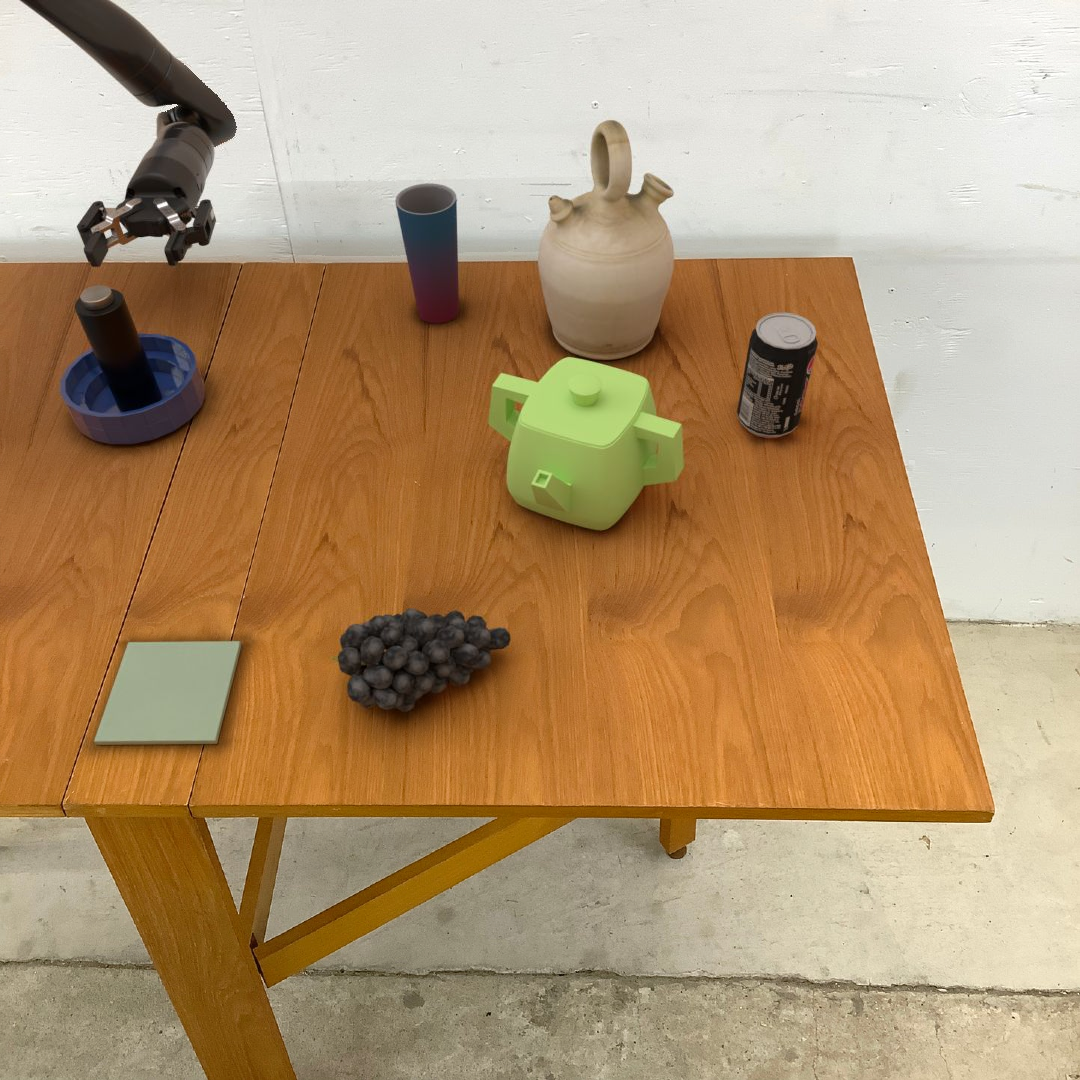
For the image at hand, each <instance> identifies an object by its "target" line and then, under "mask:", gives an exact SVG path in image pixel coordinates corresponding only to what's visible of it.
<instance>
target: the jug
mask: <svg viewBox="0 0 1080 1080" xmlns="http://www.w3.org/2000/svg"><path fill="white" fill-rule="evenodd" d="M632 156H633V154H632V148H631V142H630V139H629V135H628V133H627V130H626V128H625V127H624V126H623V124H622V123H621V122H619V121H617V120H615V119H607V120H604V121H602V122H600V123H599V124H597V126H596V127H595V129H594V131H593V133H592V136H591V142H590V172H591V177H592V181H593V188H592V189H591V191H588V192H585V193H582V194H580V195H578V196H576V197H574V198H572V199H569V198H563V197H560V196H559V195H556V194H554V195H551V196H550V197H549V198H548V201H547V202H548V203H547V204H548V207H549V208H548V209H549V217H550V218H549V220H548V222H547V223H546V225H545V228H544V230H543V233H542V235H541V238H540V242H539V246H538V253H537V268H538V275H539V279H540V285H541V289H542V295H543V299H544V303H545V308H546V311H547V316H548V319H549V322H550V325H551V327H552V329H551V330H552V334H553V336H554V338H555V340H556V341H557V343H558V344H559V345H560V346H561V347H562V348H563V349H564V350H566V351H567V352H569V353H571V354H573V355H576V356H578V357H582V358H586V359H589V360H595V361H612V360H619V359H622V358H627V357H629V356H633V355H635V354H637V353H638V352H640V351H642V350H643V349H644V348H645V347H647V346H648V344H649V343H650V342H651V341H652V339H653V337H654V335H655V331H656V329H657V327H658V324H659V321H660V317H661V315H662V311H663V310H662V309H663V306H664V302H665V300H666V298H667V295H668V292H669V289H670V286H671V282H672V277H673V273H674V268H675V249H674V241H673V239H672V234H671V231H670V228H669V227H668V224H667V222H666V220H665V219H664V217H663V216H662V214H661V212H660V211H659V207H660V205H662V204H663V203H664V202H666V201H667V199H670V198H672V197H674V195H675V191H674V190H673V188H672V187H671V186H670V185H669V184H667V183H666V182H665V181H664V180H663V179H661V178H660V177H658V176H656V175H654V174H652V173H649V172H646V173H644V175H643V181H642V184H641V187H640V190H639V192H637V193H629V190H630V188H631V182H632V175H633V174H632V173H633V157H632Z"/></svg>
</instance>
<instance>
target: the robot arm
mask: <svg viewBox="0 0 1080 1080" xmlns="http://www.w3.org/2000/svg"><path fill="white" fill-rule="evenodd" d="M19 1H20V2H21V3H22V4H24V5H25V6H27V7H28V8H29V9H31V10H32V11H33V12H34V13H36V14H37V15H38V16H40V17H41V18H43V20H45V21H47V22H48V23H49V24H50V25H51V26H53V27H54V28H56V30H58V31H59V32H61V33H62V34H63V35H64V36H65V37H67V38H68V39H69V40H71V41H72V42H73V43H74V44H75V45H76V46H77V47H79V48H80V49H81V50H82V51H84V53H85V54H87V55H88V56H89V57H90V58H91V59H93V60H94V61H95V63H97V64H98V65H99V66H100V67H101V68H102V69H104V71H106V72H107V73H108V74H109V75H110V76H111V77H112V78H113V79H114V80H115V81H116V82H118V84H120V85H121V87H123V88H124V89H125V90H126V91H127V92H129V94H131V95H132V96H133V97H134V98H135V99H136V100H137V101H139V102H140V103H141V104H143V105H144V106H146V107H150V108H159V107H165V106H166V105H172V104H177V105H178V106H176V107H174V108H172V109H170V110H167V112H166V111H165V112H161V113H159V112H158V113H157V116H156V121H155V122H156V138H155V140H154V142H153V143H152V145H151V147H150V149H148V150H147V151H146V153H144V156H143V157H142V159H141V160H140V162H139V164H138V166H137V168H136V169H135V171H134V173H133V175H132V176H131V178H130V181H129V182H128V184H127V187H126V189H125V190H126V191H125V195H124V200H123V201H122V202H120V203H118V204H117V206H115V207H106V206H105V203H104V202H103V201H101V200H96V201H93V202H92V203H91V205H90V207H89V208H88V209H87V211H86V212H85V214H84V215H83V216H82V218H81V219H80V220H79V221H78V223H77V225H76V229H77V232H78V235H79V237H80V239H81V241H82V243H83V244H82V245H83V246H84V247H83V252H84V253H83V254H84V255H85V258H86V260H87V263H90V266H91V267H92V268H100V267H101V265H102V264H103V262H104V260H105V258H106V257H107V254H108V253H109V249H111V248H112V247H115V246H116V245H118V244H119V245H122V246H125V245H128V243H131V242H132V241H135V240H137V239H139V238H148V237H151V238H163V237H164V236H166V237H168V239H167V241H166V244H165V246H164V248H163V249H164V256H165V258H166V261H167V265H168V266H169V267H176V266H178V264H179V262H181V261H183V260H184V259H185V256H186V254H187V251H188V250H189V249H191V248H193V245H194V244H198V245H199V246H201V247H205V246H208V245H209V244H210V242H211V240H212V235H213V233H214V229H215V226H216V223H217V218H216V214H215V211H214V208H213V203H212V202H211V201H212V200H211V199H207V198H206V199H202V200H200V199H201V198H202V195H203V194H204V190H205V186H206V181H207V178H208V176H209V174H210V172H211V170H212V168H213V165H214V161H215V154H216V153H215V148H217V147H219V146H221V145H223V144H225V143H228V142H229V141H231V140H233V139H234V138H235V137H234V136H235V133H236V130H237V129H236V128H237V126H236V122H235V119H234V116H233V114H232V113H231V111H230V110H229V109H228V108H227V105H225V103H224V102H222V101H221V99H220V98H219V97H218V95H217V94H215V93H214V92H213V91H212V90H211V89H210V88H208V86H206V85H205V83H203V82H202V80H200V79H199V78H198V77H197V76H196V75H195V74H194V73H193V72H192V71H191V70H190V69H189V68H188V67H187V66H186V65H184V63H185V62H184V63H182V62H183V61H182V62H181V60H180V59H178V58H177V57H175V56H174V55H173V54H172V53H171V52H170V50H168V49H167V47H166V46H164V44H162V42H161V41H160V40H159V39H158V38H157V37H156V36H155V35H154V34H153V33H152V32H151V31H149V29H147V27H145V25H143V24H142V23H141V22H140V21H139V20H138V19H136V17H134V16H133V15H132V14H130V13H129V12H128V11H127V10H125V9H124V8H123V7H121V6H119V5H118V4H117V3H115V2H113V1H112V0H19ZM233 137H234V138H233ZM232 138H233V139H232ZM230 139H231V140H230ZM228 140H229V141H228ZM224 142H225V143H224ZM222 143H223V144H222ZM220 144H221V145H220ZM218 145H219V146H218ZM216 146H217V147H216ZM214 147H215V148H214ZM198 204H199V205H198ZM192 220H193V222H192ZM190 222H192V226H187V225H188V224H189V223H190ZM121 225H122V226H123V228H124V229H125V230H126V232H124V231H123V229H122V226H121ZM109 230H110V232H111V233H110V234H111V235H110V236H109V237H107V236H106V234H105V233H106V232H107V231H109Z"/></svg>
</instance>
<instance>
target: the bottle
mask: <svg viewBox="0 0 1080 1080" xmlns="http://www.w3.org/2000/svg"><path fill="white" fill-rule="evenodd" d="M74 311H75V313H76V315H77V317H78V319H79V322H80V325H81V327H82V329H83V331H84V334H85V336H86V338H87V340H88V342H89V345H90V348H92V349H93V352H94V354H95V356H96V359H97V361H98V363H99V365H100V368H101V370H102V372H103V374H104V377H105V379H106V381H107V384H108V386H109V388H110V390H111V393H112V395H113V397H114V400H115V402H116V404H117V406H118V409H119V410H120V411H121V412H127V411H132V410H137V409H142V408H144V407H146V406H149V405H151V404H154V403H156V402H159V401H161V400H162V394H161V391H160V389H159V386H158V384H157V381H156V379H155V376H154V374H153V371H152V368H151V366H150V363H149V361H148V358H147V356H146V353H145V350H144V348H143V345H142V343H141V340H140V338H139V335H138V334H139V333H138V330H137V328H136V325H135V322H134V320H133V317H132V315H131V312H130V309H129V307H128V305H127V302H126V299H125V296H124V294H123V293H122V292H121V291H119V290H118V289H114V288H110V287H109V286H107V285H102V284H98V285H92V286H89V287H87V288H86V289H84V290H83V291H82V292H81V293H80V296H79V298H78V299H77V300H76V301H75V303H74Z"/></svg>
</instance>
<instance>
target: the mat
mask: <svg viewBox="0 0 1080 1080" xmlns="http://www.w3.org/2000/svg"><path fill="white" fill-rule="evenodd" d="M242 646H243V645H242V641H240V640H224V641H221V640H219V641H218V640H215V641H206V640H205V641H128V642H127V645H126V647H125V650H124V653H123V656H122V660H121V662H120V665H119V667H118V670H117V674H116V676H115V679H114V682H113V684H112V688H111V691H110V694H109V696H108V699H107V702H106V705H105V708H104V710H103V714H102V717H101V720H100V723H99V725H98V729H97V731H96V734H95V737H94V740H93V743H94V744H95V745H96V746H101V745H102V746H103V745H105V746H107V745H108V746H113V745H116V746H117V745H122V746H123V745H127V746H128V745H217V744H218V741H219V737H220V734H221V730H222V725H223V721H224V717H225V714H226V710H227V705H228V702H229V697H230V693H231V689H232V685H233V682H234V677H235V674H236V670H237V666H238V661H239V658H240V654H241V649H242Z"/></svg>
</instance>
